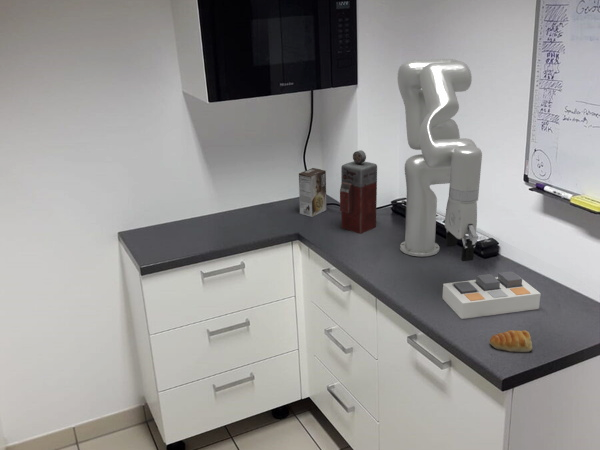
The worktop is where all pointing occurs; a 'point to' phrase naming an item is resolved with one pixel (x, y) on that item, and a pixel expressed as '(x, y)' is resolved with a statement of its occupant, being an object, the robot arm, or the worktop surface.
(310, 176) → the coffee box
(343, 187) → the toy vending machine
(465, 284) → the button
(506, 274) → the button
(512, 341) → the pastry
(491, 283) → the button
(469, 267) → the worktop surface
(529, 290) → the switch box
